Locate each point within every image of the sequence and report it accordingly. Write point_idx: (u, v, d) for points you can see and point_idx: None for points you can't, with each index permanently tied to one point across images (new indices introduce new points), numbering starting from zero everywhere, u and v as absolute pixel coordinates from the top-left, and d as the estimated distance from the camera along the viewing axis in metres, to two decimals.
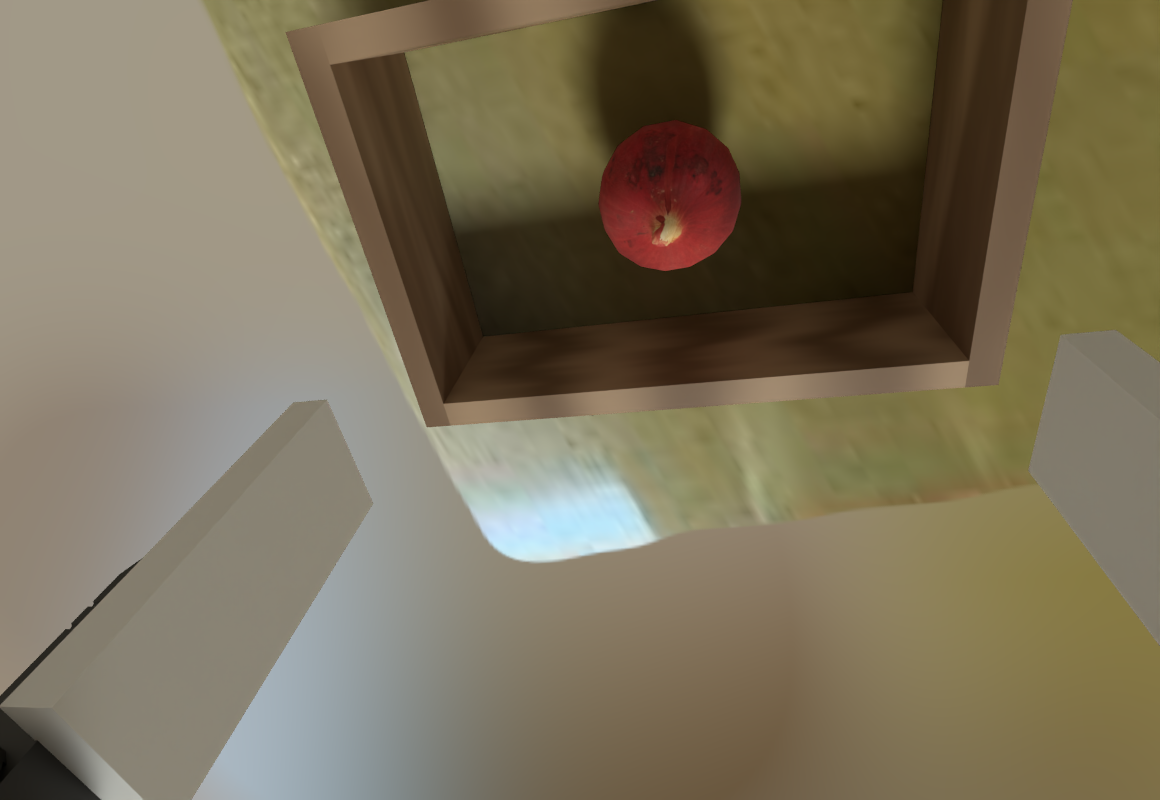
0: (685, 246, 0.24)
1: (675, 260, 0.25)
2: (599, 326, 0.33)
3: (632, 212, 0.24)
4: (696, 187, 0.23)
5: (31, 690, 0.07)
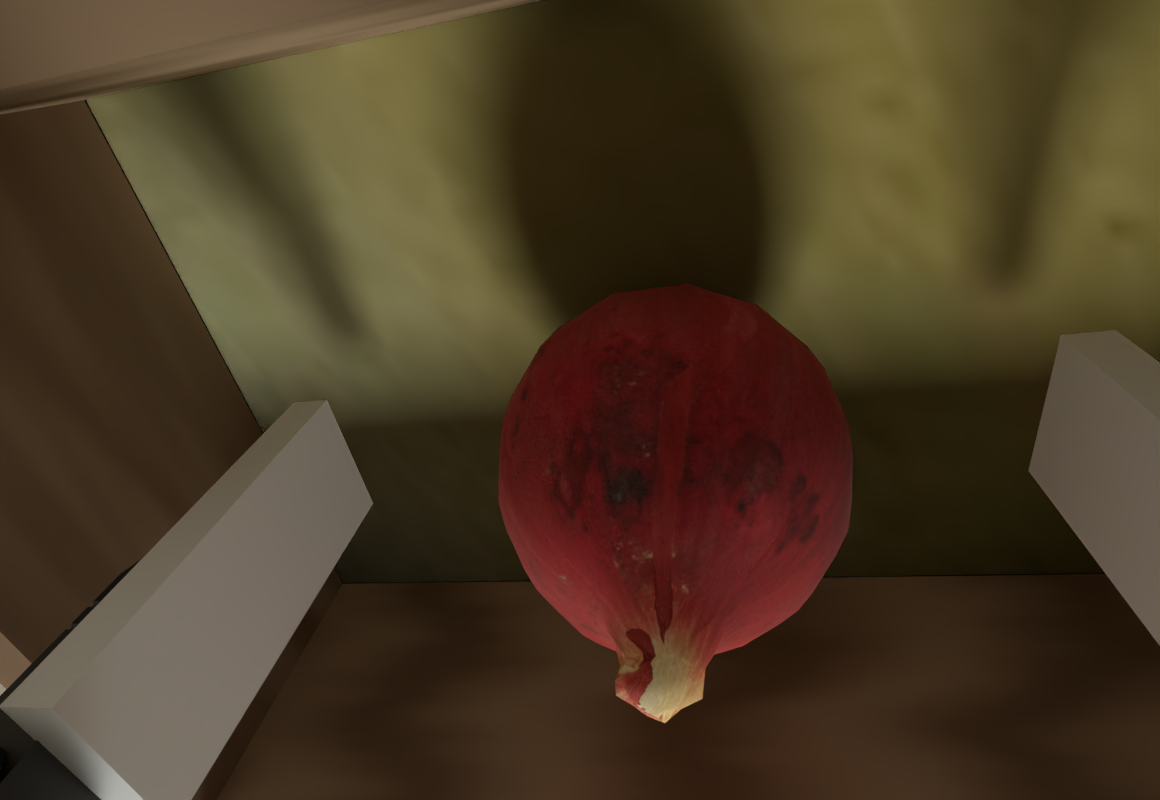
0: None
1: None
2: None
3: (564, 581, 0.08)
4: (748, 540, 0.08)
5: (31, 690, 0.07)
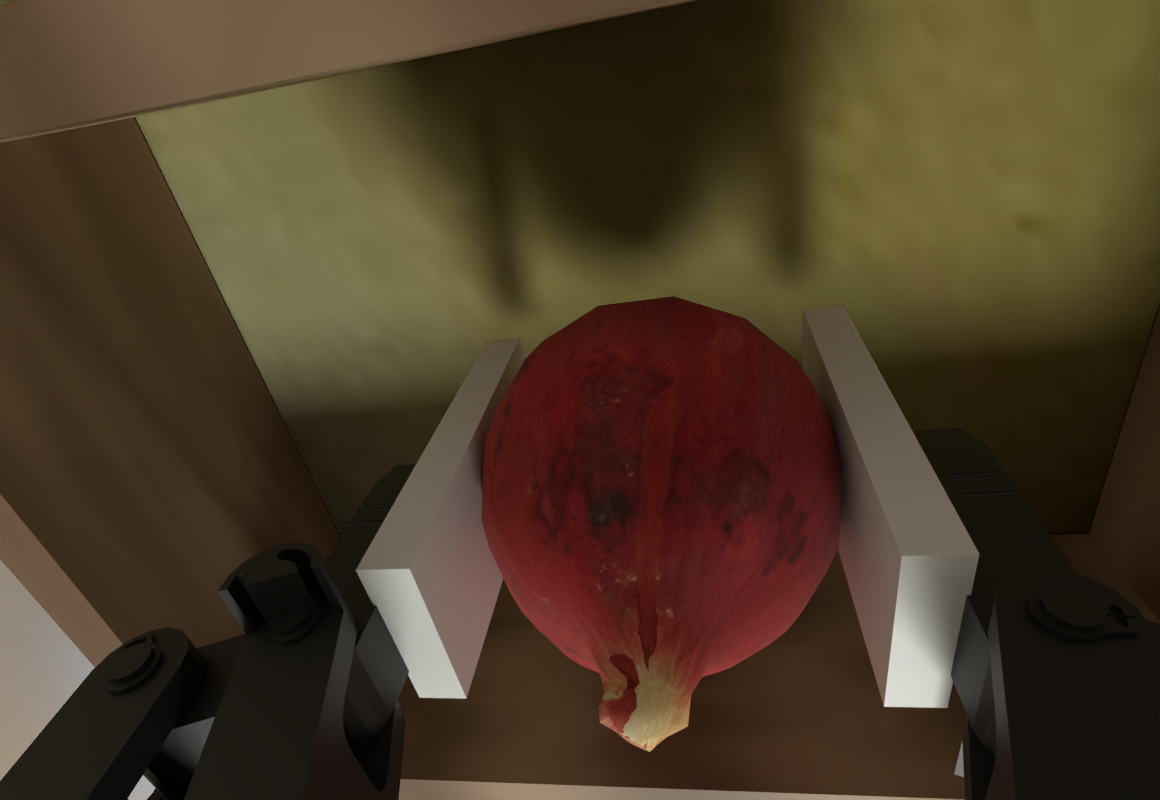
0: None
1: None
2: None
3: (547, 603, 0.08)
4: (734, 562, 0.07)
5: (379, 557, 0.08)
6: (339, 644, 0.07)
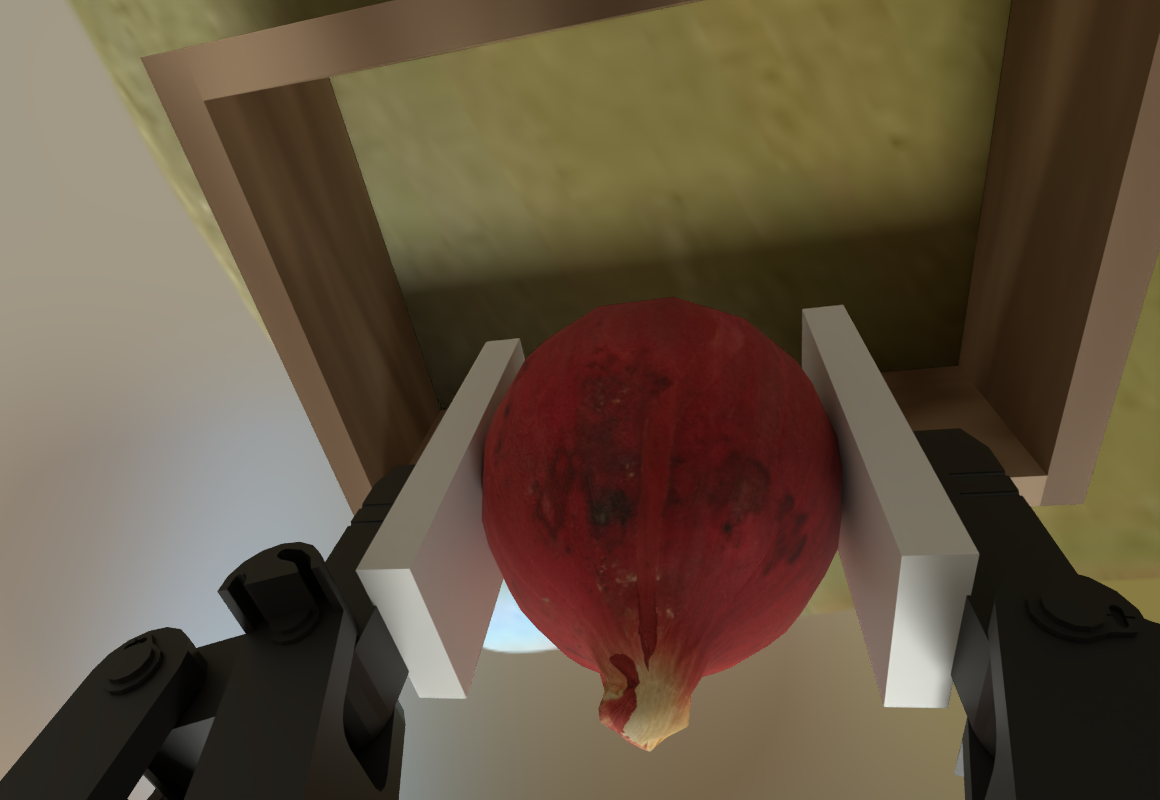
0: None
1: None
2: None
3: (547, 603, 0.08)
4: (733, 563, 0.07)
5: (379, 557, 0.08)
6: (339, 644, 0.07)
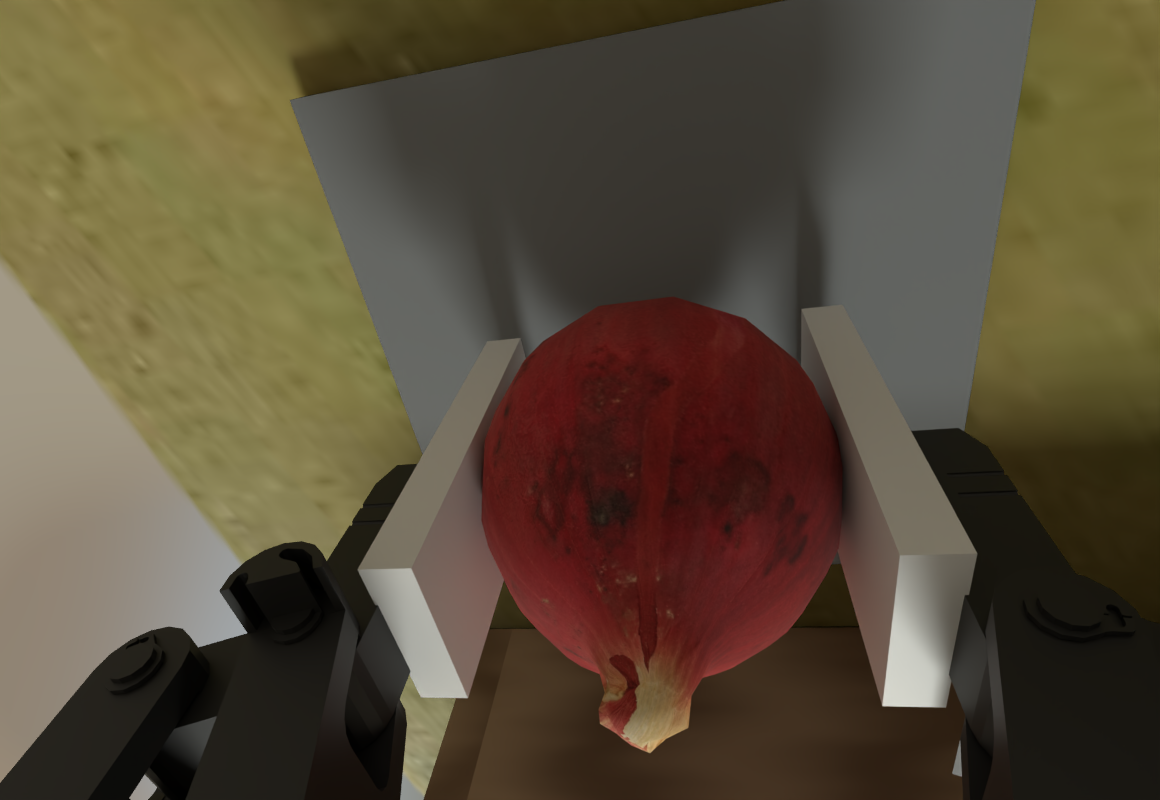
0: None
1: None
2: None
3: (547, 604, 0.08)
4: (735, 563, 0.07)
5: (381, 557, 0.08)
6: (341, 644, 0.07)
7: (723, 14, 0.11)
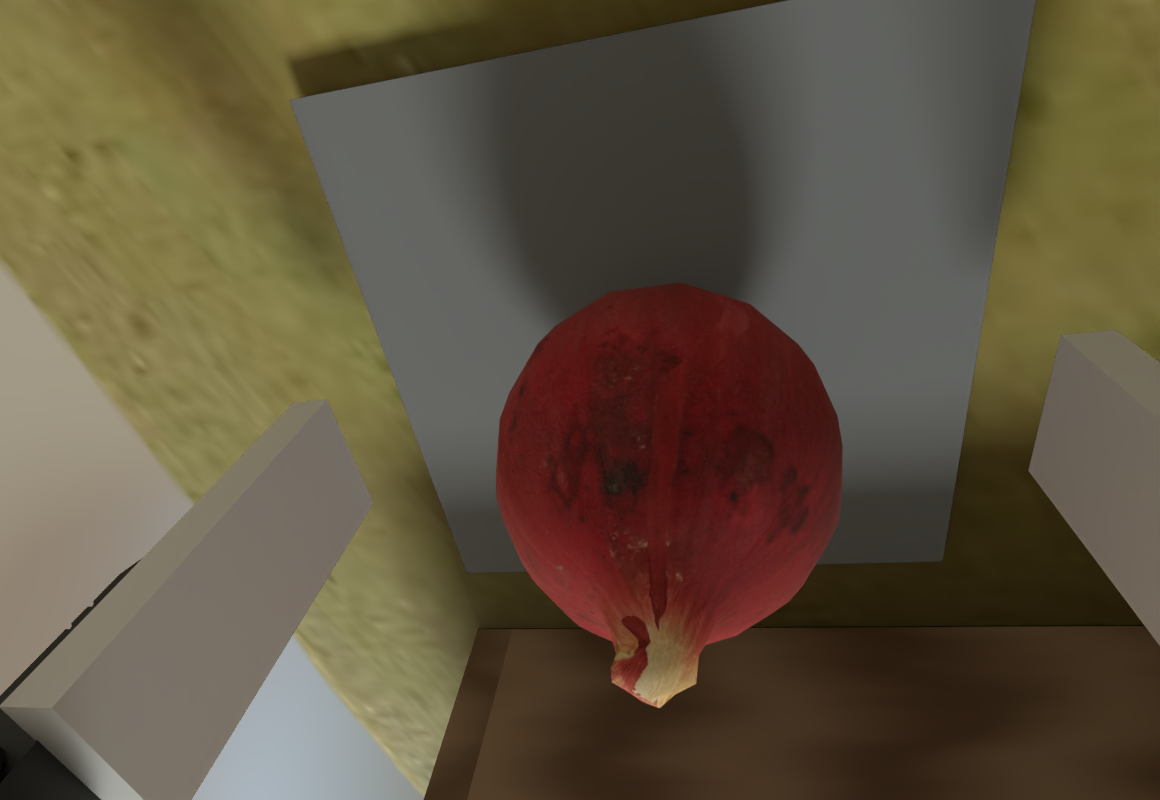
0: (706, 644, 0.09)
1: None
2: None
3: (561, 571, 0.09)
4: (740, 531, 0.08)
5: (31, 690, 0.07)
6: None
7: (723, 14, 0.11)
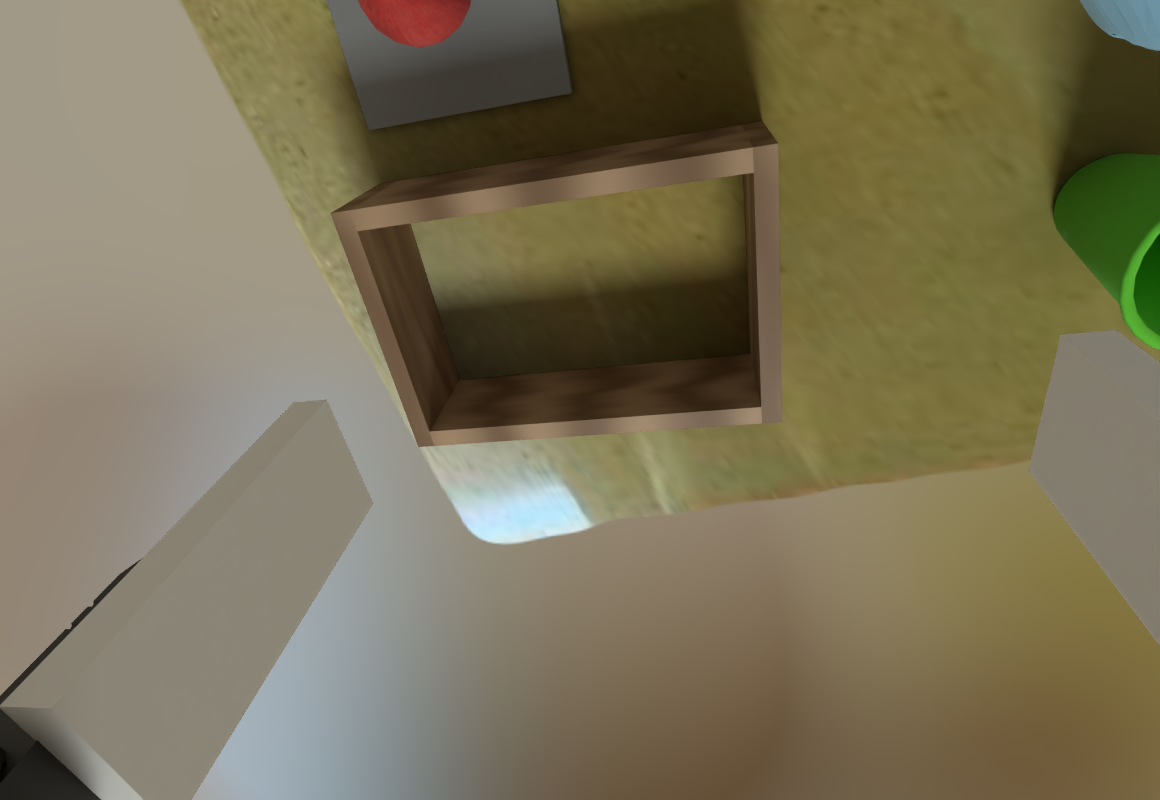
0: (408, 4, 0.29)
1: (408, 21, 0.30)
2: (540, 374, 0.47)
3: None
4: None
5: (31, 690, 0.07)
6: None
7: None
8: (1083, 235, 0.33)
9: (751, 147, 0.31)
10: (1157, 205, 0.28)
